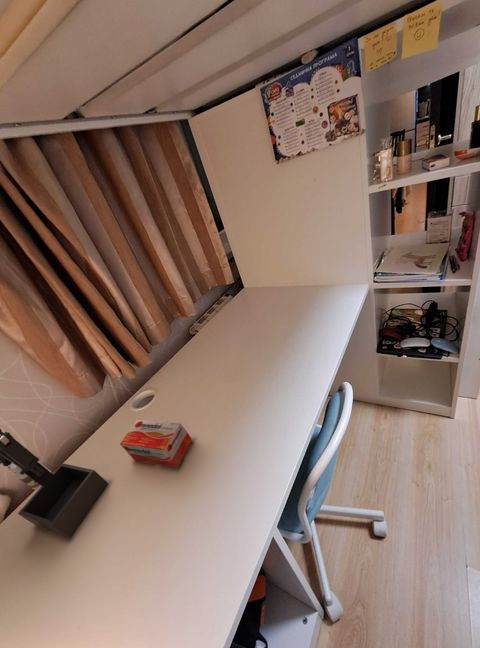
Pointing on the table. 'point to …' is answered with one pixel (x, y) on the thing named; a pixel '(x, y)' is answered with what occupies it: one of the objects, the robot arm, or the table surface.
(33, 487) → the pill bottle
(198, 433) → the table surface
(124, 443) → the medicine box
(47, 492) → the basket
